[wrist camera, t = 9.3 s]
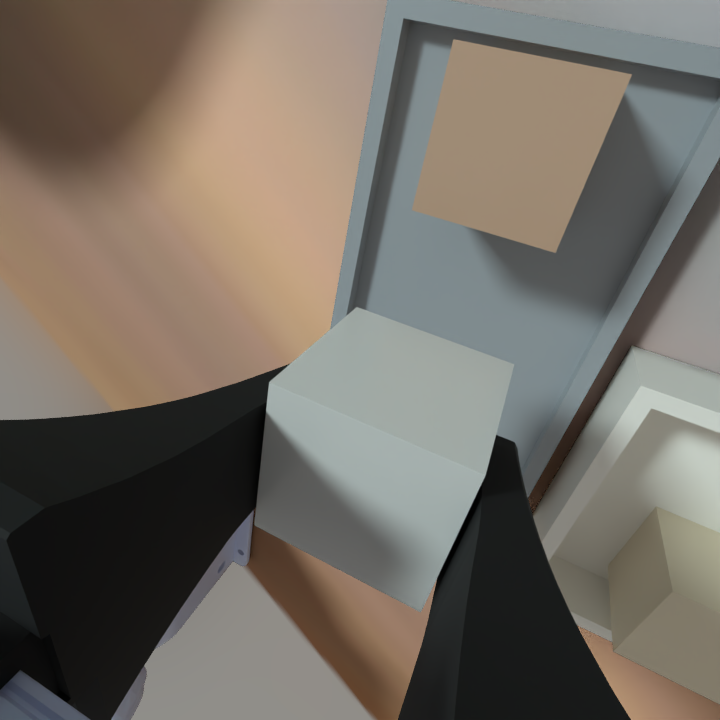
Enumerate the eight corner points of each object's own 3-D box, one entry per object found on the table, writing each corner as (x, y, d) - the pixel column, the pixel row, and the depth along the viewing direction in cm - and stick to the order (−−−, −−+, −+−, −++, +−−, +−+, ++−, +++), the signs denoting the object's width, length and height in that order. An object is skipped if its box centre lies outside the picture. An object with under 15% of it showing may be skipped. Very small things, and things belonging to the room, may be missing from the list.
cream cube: (705, 610, 19) (730, 709, 16) (607, 565, 20) (612, 651, 17) (768, 552, 17) (812, 654, 14) (655, 506, 18) (672, 591, 15)
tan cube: (560, 223, 15) (555, 253, 12) (445, 190, 16) (411, 210, 13) (619, 84, 13) (632, 74, 10) (482, 56, 14) (453, 39, 11)
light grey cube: (461, 484, 13) (420, 612, 9) (332, 427, 14) (254, 525, 10) (514, 364, 11) (486, 475, 7) (356, 307, 12) (268, 382, 8)
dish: (775, 658, 20) (803, 735, 17) (517, 540, 22) (509, 592, 20) (1024, 475, 14) (1119, 553, 11) (631, 345, 16) (640, 385, 14)
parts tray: (512, 513, 22) (508, 531, 21) (321, 428, 24) (310, 441, 23) (760, 62, 12) (776, 57, 11) (401, -2, 15) (389, -11, 14)
